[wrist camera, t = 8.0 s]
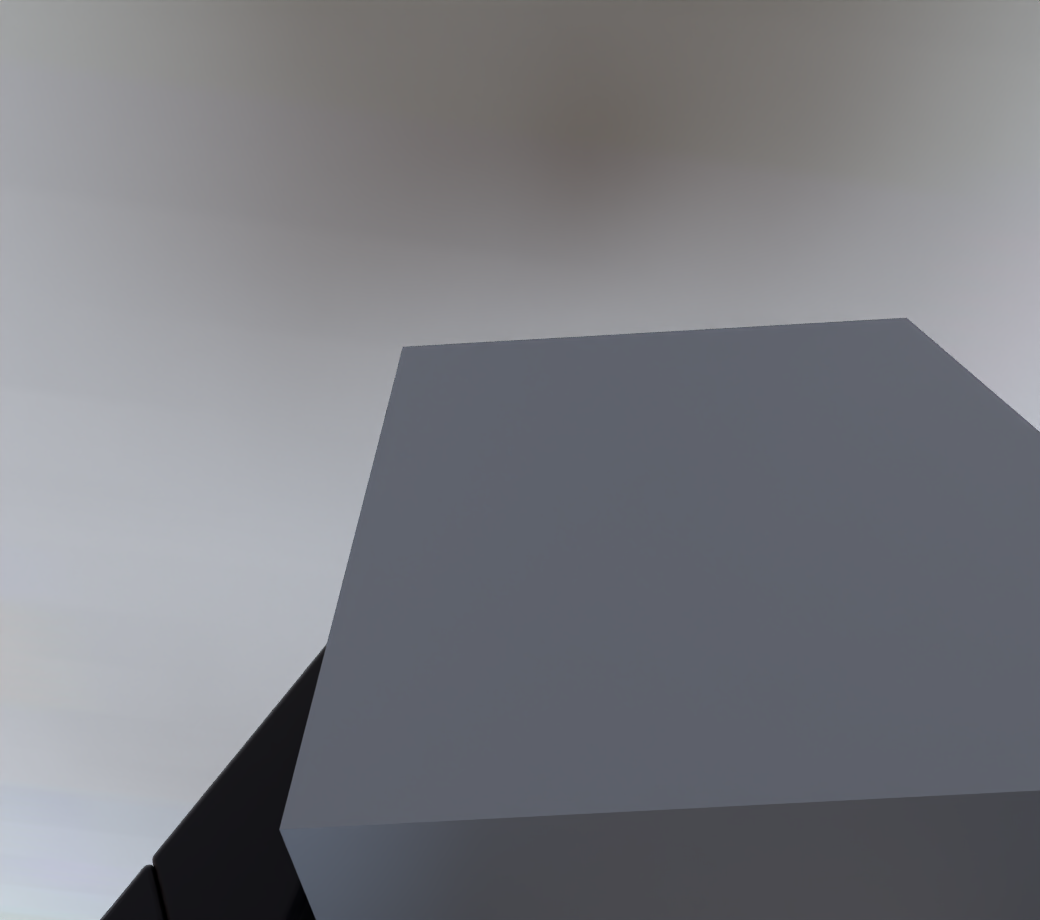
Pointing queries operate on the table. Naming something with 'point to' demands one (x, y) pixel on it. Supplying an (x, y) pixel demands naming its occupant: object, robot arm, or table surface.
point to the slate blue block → (684, 638)
